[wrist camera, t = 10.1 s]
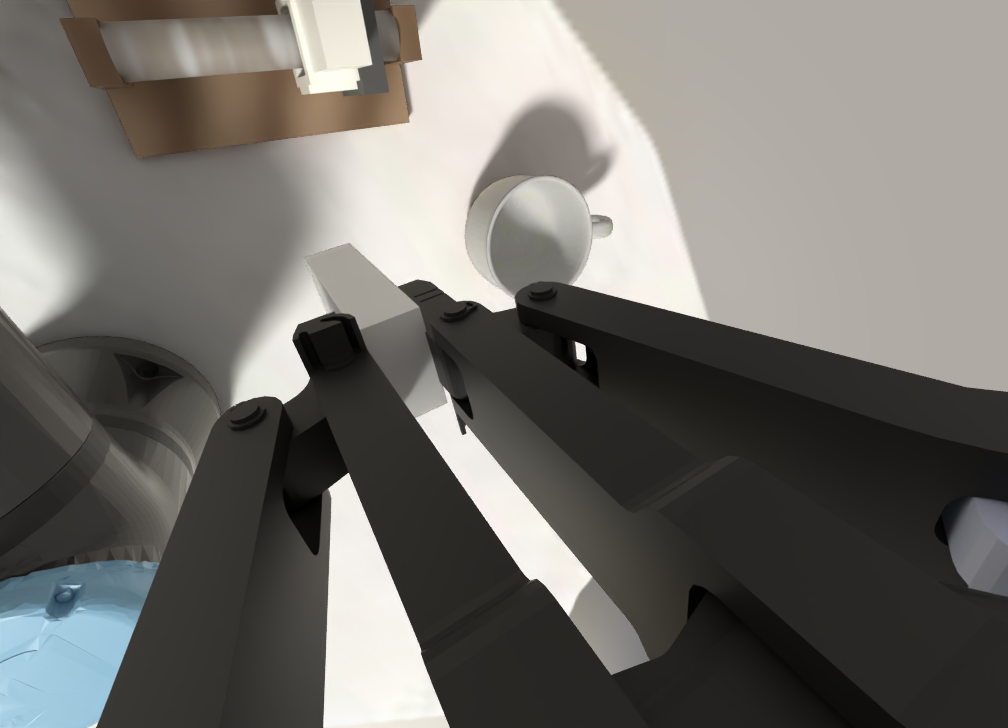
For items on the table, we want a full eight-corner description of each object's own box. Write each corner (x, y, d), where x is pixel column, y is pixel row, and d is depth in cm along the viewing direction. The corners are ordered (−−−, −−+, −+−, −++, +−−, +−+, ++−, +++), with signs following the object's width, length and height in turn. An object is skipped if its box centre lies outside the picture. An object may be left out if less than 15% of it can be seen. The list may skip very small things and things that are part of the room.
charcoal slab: (343, 96, 35) (364, 94, 30) (318, -14, 32) (338, -36, 27) (364, 93, 36) (389, 92, 31) (342, -15, 33) (366, -36, 28)
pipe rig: (138, 157, 33) (125, 166, 28) (45, -54, 27) (7, -91, 22) (405, 122, 40) (434, 124, 35) (375, -52, 34) (404, -79, 29)
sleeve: (299, 95, 34) (327, 91, 26) (272, -7, 31) (294, -46, 23) (342, 90, 35) (381, 86, 27) (320, -8, 32) (357, -46, 24)
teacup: (447, 280, 47) (482, 306, 41) (455, 161, 43) (497, 170, 37) (562, 277, 54) (608, 300, 48) (580, 174, 50) (633, 184, 43)
